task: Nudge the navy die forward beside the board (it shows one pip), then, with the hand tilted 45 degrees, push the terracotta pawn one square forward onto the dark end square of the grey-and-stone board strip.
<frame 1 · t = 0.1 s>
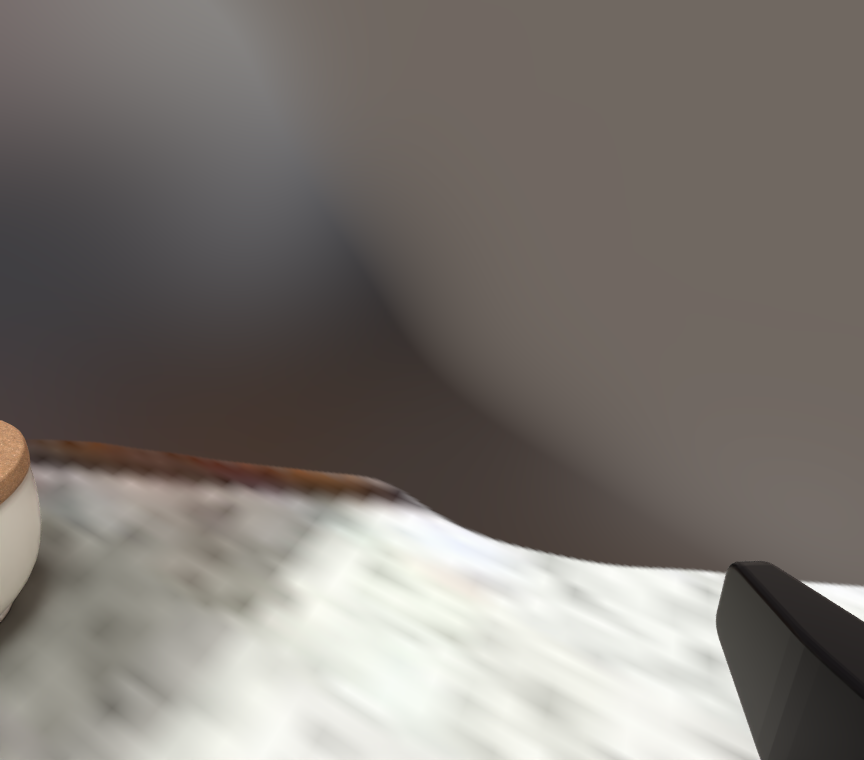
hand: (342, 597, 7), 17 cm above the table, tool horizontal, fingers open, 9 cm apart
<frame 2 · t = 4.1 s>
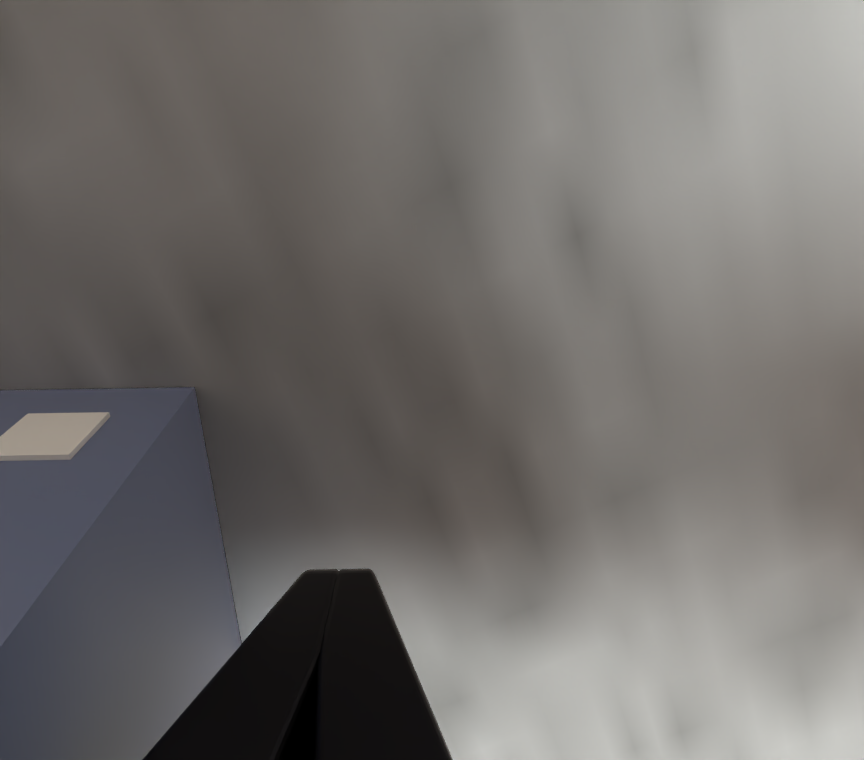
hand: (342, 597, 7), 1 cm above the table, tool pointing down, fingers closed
die: (56, 538, 9), on the table, touching gripper
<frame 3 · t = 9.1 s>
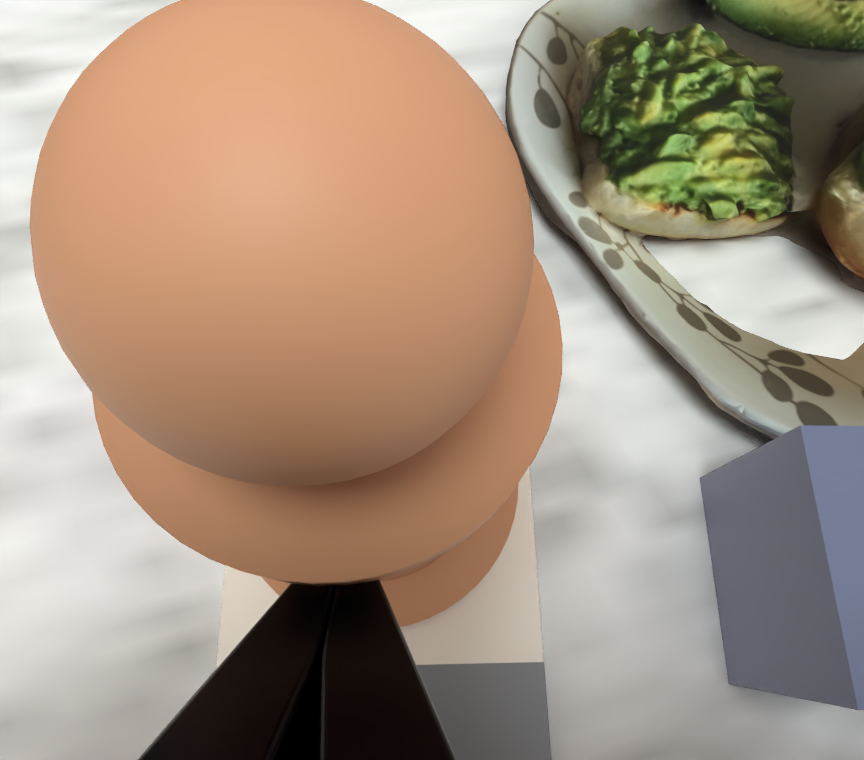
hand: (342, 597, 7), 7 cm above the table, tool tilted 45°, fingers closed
salad plate: (805, 157, 20), on the table
die: (809, 576, 15), on the table
pawn: (380, 491, 15), resting on board, touching gripper
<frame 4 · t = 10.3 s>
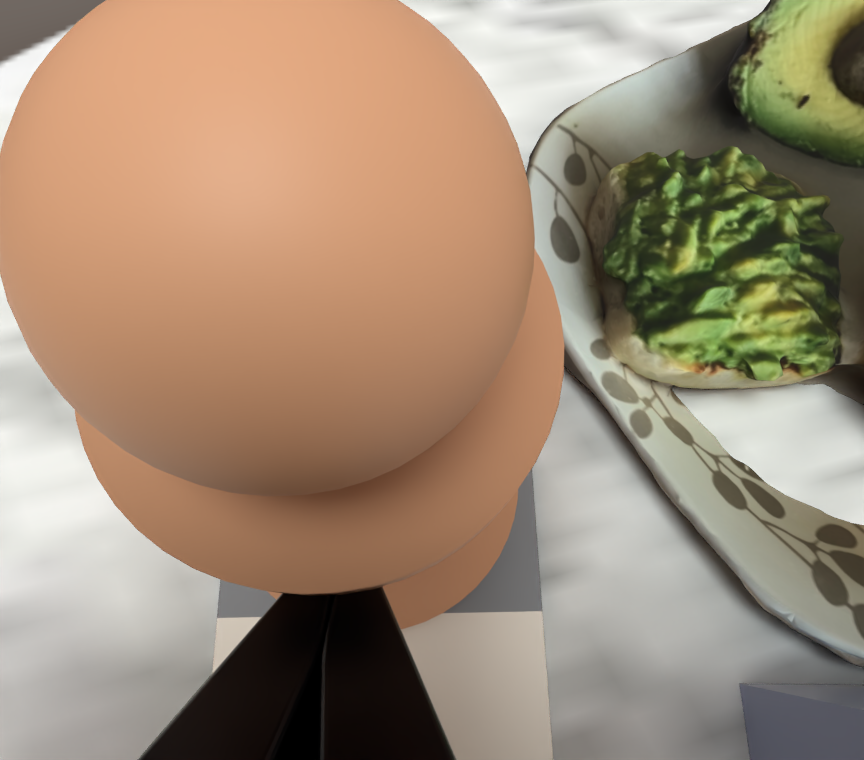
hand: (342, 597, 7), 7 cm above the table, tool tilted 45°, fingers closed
salad plate: (848, 281, 18), on the table
pawn: (378, 490, 15), resting on board
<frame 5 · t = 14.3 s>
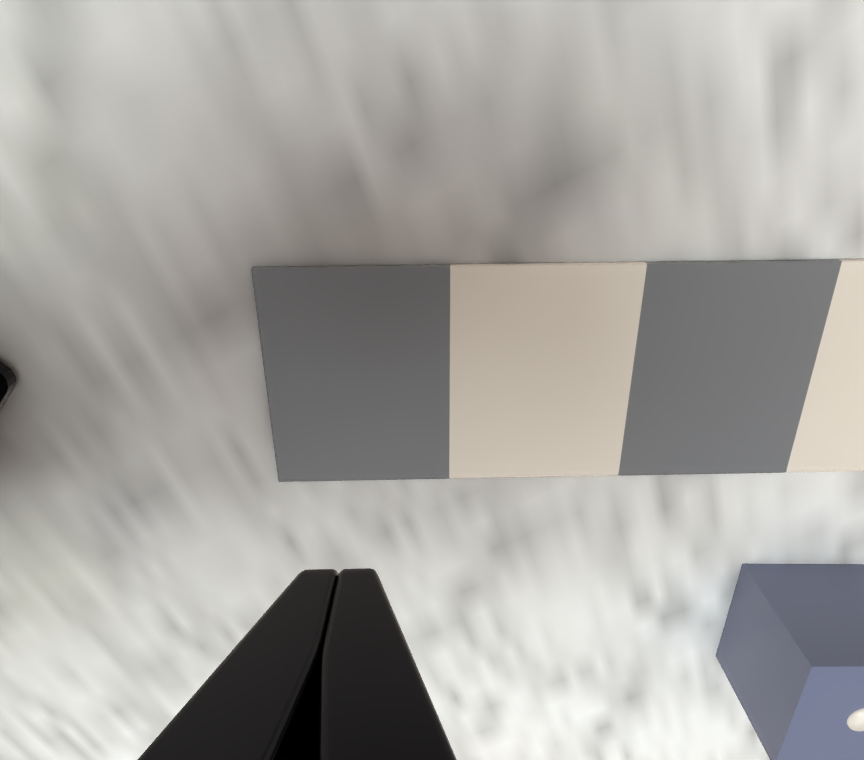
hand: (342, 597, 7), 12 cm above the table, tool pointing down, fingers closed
die: (787, 610, 24), on the table
board: (719, 373, 20), on the table
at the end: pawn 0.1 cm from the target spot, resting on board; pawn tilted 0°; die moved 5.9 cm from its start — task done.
